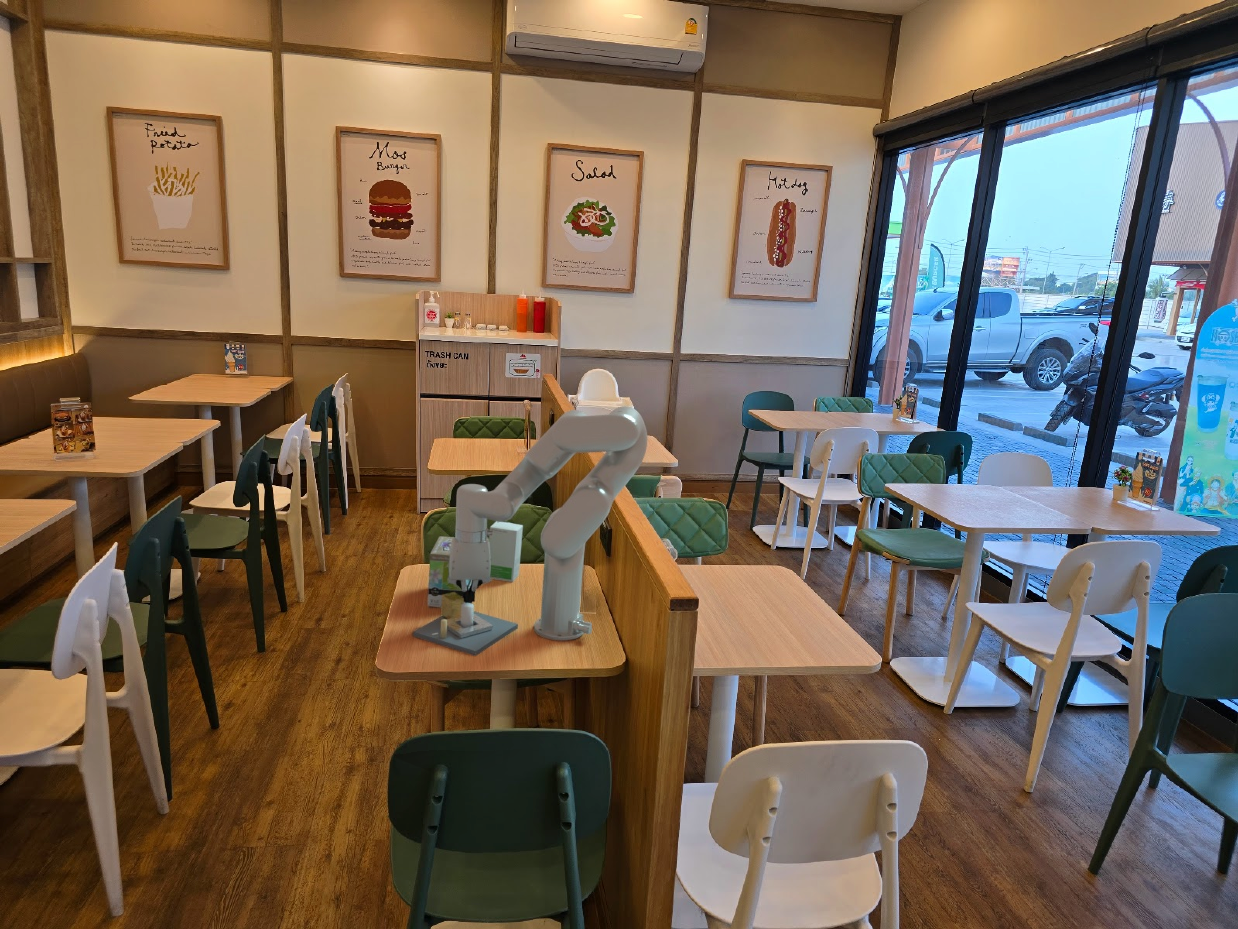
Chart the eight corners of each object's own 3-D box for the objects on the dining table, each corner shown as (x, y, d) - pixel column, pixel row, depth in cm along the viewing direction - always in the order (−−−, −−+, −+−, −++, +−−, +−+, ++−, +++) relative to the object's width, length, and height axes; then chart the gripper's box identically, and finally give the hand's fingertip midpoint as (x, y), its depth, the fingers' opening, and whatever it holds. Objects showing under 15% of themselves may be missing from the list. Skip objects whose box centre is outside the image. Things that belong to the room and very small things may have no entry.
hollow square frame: (492, 629, 199) (493, 608, 197) (460, 638, 192) (461, 616, 191) (462, 610, 208) (463, 589, 207) (431, 618, 202) (431, 597, 201)
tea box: (465, 609, 212) (467, 555, 209) (426, 607, 211) (428, 553, 208) (472, 587, 227) (475, 536, 223) (436, 585, 226) (437, 534, 223)
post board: (517, 628, 203) (519, 602, 202) (475, 656, 187) (476, 627, 186) (458, 611, 211) (459, 585, 209) (412, 636, 195) (413, 608, 193)
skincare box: (485, 578, 234) (488, 526, 230) (493, 570, 240) (495, 520, 236) (514, 582, 232) (516, 530, 229) (520, 574, 239) (523, 523, 235)
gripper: (500, 529, 206) (497, 597, 210) (439, 529, 202) (437, 599, 206) (503, 539, 199) (499, 609, 203) (440, 539, 195) (438, 611, 199)
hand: (468, 604), depth 204 cm, fingers closed
